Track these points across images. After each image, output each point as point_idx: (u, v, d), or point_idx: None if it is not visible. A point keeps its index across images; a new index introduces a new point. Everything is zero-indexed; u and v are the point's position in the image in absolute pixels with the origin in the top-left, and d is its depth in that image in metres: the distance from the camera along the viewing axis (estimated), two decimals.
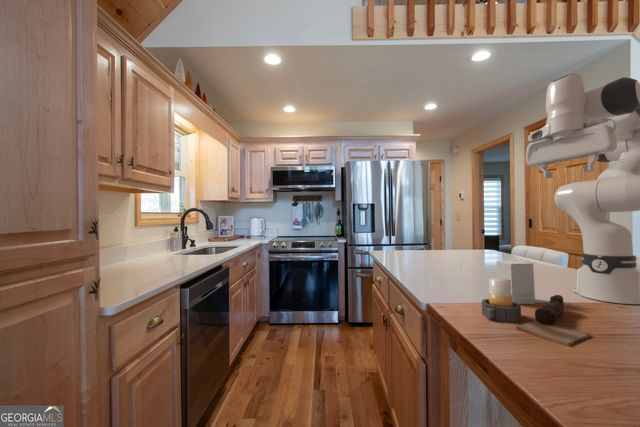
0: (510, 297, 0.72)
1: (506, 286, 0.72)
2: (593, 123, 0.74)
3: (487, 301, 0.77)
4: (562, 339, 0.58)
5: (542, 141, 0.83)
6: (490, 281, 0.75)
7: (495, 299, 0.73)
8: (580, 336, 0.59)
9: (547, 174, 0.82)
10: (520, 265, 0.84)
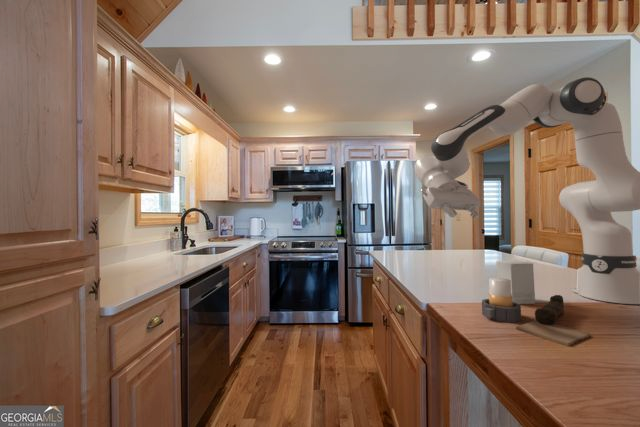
0: (510, 297, 0.72)
1: (506, 286, 0.72)
2: None
3: (487, 301, 0.77)
4: (562, 339, 0.58)
5: None
6: (490, 281, 0.75)
7: (495, 299, 0.73)
8: (580, 336, 0.59)
9: None
10: (520, 265, 0.84)
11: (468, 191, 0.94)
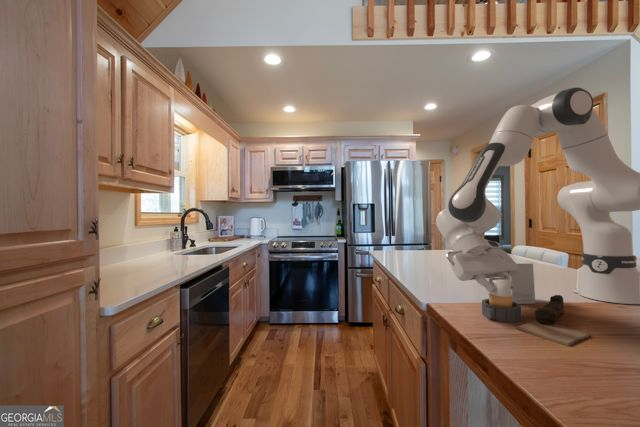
0: (510, 297, 0.72)
1: (506, 286, 0.72)
2: None
3: (487, 301, 0.77)
4: (562, 339, 0.58)
5: None
6: (490, 281, 0.75)
7: (495, 299, 0.73)
8: (580, 336, 0.59)
9: None
10: (520, 265, 0.84)
11: (501, 252, 0.82)
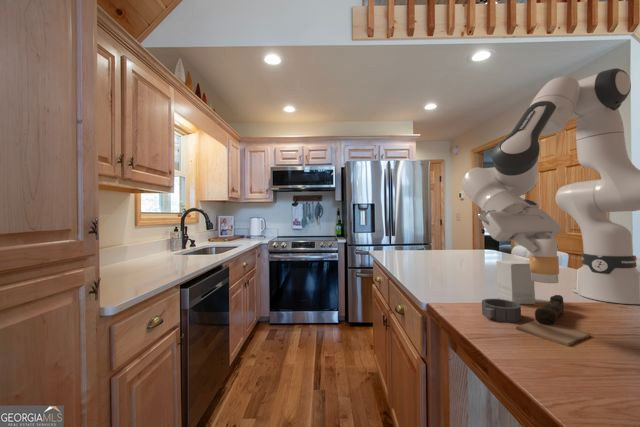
0: (556, 257, 0.62)
1: (552, 244, 0.62)
2: None
3: (487, 301, 0.77)
4: (562, 339, 0.58)
5: None
6: (531, 241, 0.65)
7: (538, 260, 0.63)
8: (580, 336, 0.59)
9: None
10: (520, 265, 0.84)
11: (541, 212, 0.72)
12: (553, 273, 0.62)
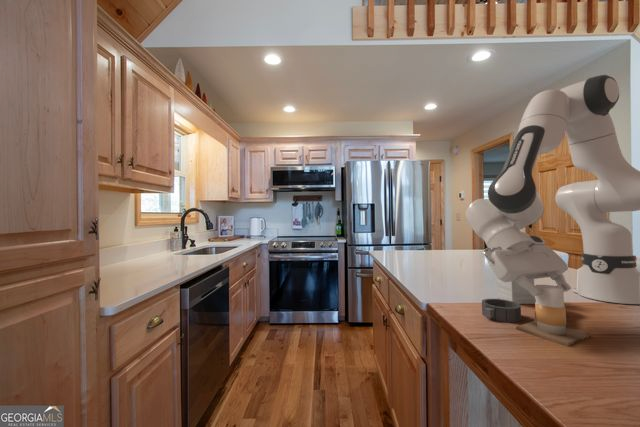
0: (563, 308, 0.61)
1: (558, 295, 0.61)
2: None
3: (487, 301, 0.77)
4: (562, 339, 0.58)
5: None
6: None
7: (544, 310, 0.62)
8: (580, 336, 0.59)
9: None
10: None
11: (546, 249, 0.71)
12: (560, 324, 0.60)
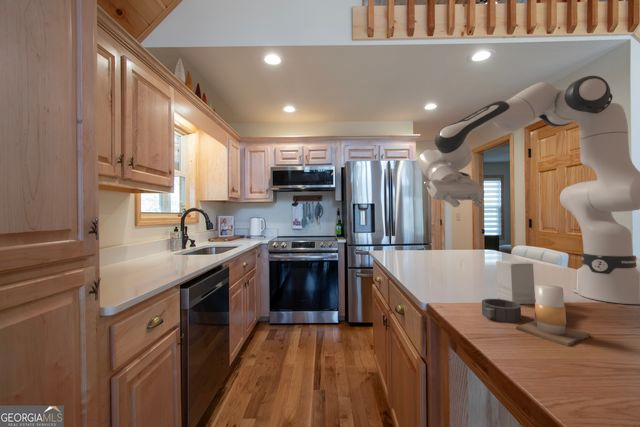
0: (563, 308, 0.61)
1: (558, 294, 0.61)
2: None
3: (487, 301, 0.77)
4: (562, 339, 0.58)
5: None
6: (537, 288, 0.63)
7: (544, 310, 0.62)
8: (580, 336, 0.59)
9: None
10: (520, 265, 0.84)
11: (471, 181, 0.97)
12: (559, 324, 0.60)
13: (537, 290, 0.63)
